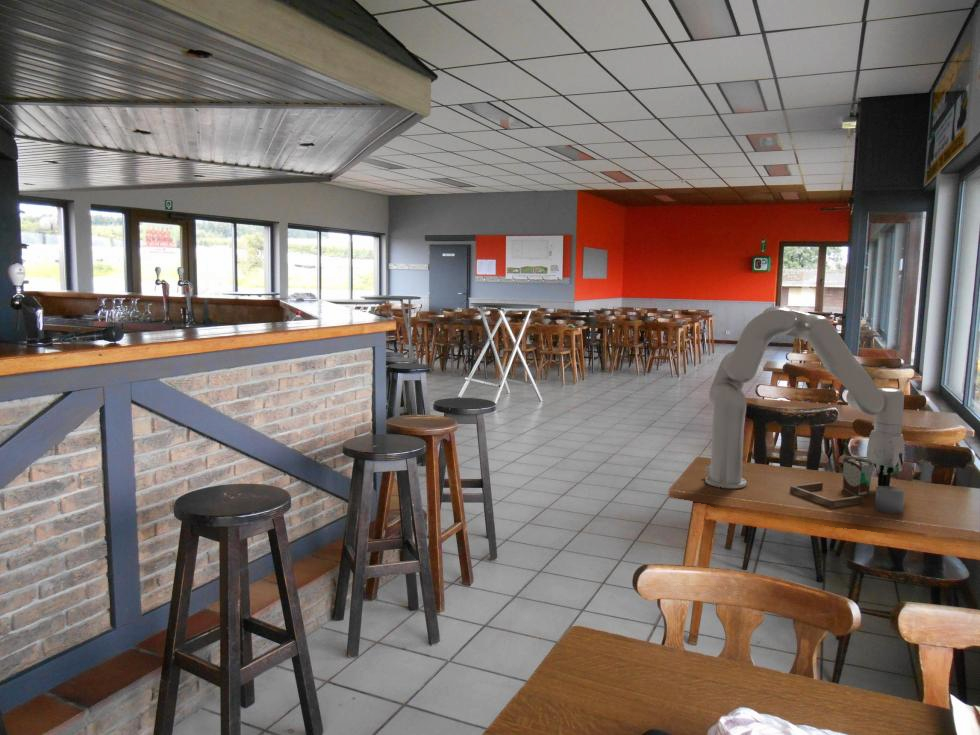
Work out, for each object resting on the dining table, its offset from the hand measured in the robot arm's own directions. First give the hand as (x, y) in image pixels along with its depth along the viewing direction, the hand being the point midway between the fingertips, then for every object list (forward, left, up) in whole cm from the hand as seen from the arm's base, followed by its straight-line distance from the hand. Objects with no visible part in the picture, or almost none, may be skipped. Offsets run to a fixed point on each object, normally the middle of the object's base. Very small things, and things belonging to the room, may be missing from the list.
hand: (883, 486), depth 226 cm
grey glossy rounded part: (+15, -16, -1) cm, 22 cm away
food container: (0, -10, -1) cm, 10 cm away
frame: (0, -24, -1) cm, 24 cm away
